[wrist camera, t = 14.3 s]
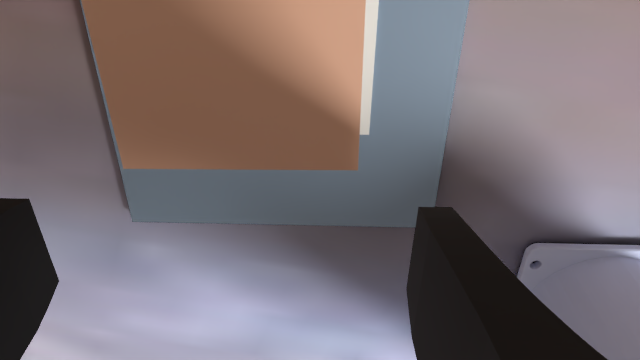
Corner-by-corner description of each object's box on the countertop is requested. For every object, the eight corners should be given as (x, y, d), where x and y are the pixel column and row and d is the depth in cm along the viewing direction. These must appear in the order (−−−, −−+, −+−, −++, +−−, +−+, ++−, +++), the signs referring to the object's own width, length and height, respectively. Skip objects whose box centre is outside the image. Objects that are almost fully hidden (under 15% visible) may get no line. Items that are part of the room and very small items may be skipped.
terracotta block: (351, 96, 14) (358, 170, 10) (173, 95, 14) (123, 168, 11) (357, -111, 11) (370, -102, 8) (138, -110, 11) (56, -101, 8)
